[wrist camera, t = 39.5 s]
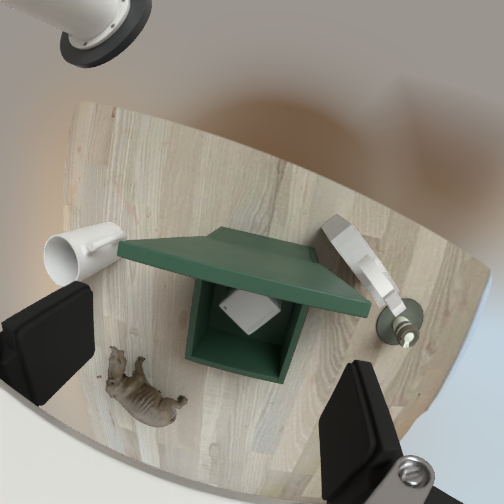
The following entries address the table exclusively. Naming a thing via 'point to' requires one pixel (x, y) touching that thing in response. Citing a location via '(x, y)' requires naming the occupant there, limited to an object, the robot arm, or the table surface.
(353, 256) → the gravestone
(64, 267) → the mug
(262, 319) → the small box
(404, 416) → the table surface
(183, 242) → the bin lid
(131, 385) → the rhinoceros figurine
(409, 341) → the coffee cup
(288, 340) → the bin
